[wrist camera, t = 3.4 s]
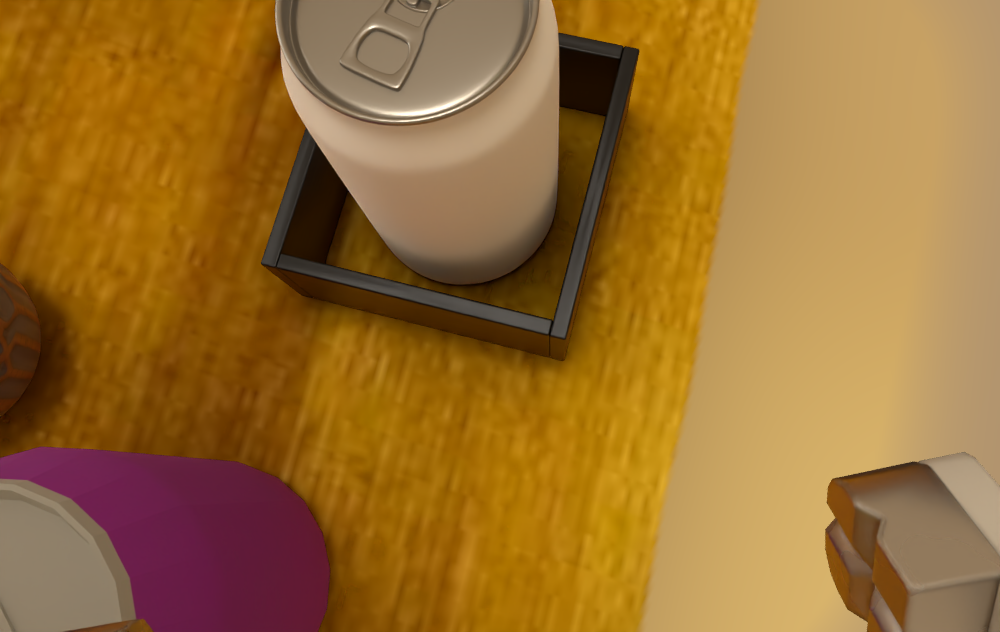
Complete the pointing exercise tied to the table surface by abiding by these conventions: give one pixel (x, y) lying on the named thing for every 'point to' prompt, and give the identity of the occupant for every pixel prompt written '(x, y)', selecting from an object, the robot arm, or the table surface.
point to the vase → (16, 339)
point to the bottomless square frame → (300, 263)
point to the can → (434, 121)
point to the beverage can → (155, 545)
